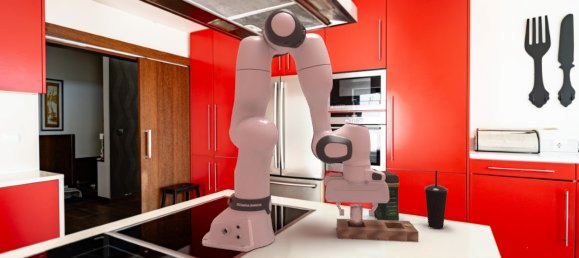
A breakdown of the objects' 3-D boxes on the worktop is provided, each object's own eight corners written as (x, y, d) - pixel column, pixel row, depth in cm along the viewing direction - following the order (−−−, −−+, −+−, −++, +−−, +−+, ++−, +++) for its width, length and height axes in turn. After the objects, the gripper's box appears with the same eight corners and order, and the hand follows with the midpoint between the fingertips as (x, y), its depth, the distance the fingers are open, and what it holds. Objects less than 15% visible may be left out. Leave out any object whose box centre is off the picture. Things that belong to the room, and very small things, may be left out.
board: (338, 241, 94) (338, 228, 94) (336, 230, 104) (336, 217, 104) (418, 244, 92) (418, 230, 92) (409, 232, 102) (409, 220, 102)
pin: (350, 235, 97) (350, 207, 97) (349, 230, 101) (349, 204, 101) (363, 235, 97) (363, 207, 96) (361, 231, 101) (361, 204, 100)
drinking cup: (421, 222, 112) (422, 168, 112) (444, 223, 111) (444, 169, 110) (426, 229, 105) (427, 172, 104) (450, 231, 103) (451, 172, 102)
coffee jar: (402, 224, 110) (402, 173, 109) (381, 225, 109) (381, 174, 108) (390, 216, 120) (390, 169, 119) (371, 217, 119) (371, 169, 118)
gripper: (324, 174, 96) (324, 217, 97) (390, 175, 94) (390, 219, 94) (324, 171, 102) (324, 211, 103) (386, 171, 100) (386, 213, 101)
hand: (356, 215), depth 99 cm, fingers open, 8 cm apart
